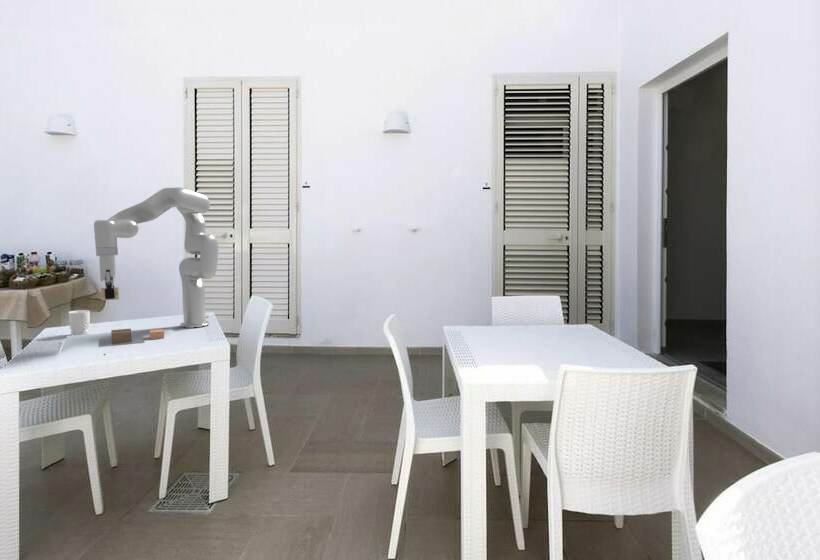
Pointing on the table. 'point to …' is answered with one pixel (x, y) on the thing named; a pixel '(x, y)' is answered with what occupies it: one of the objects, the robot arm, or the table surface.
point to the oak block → (114, 294)
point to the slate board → (108, 342)
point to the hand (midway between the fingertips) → (110, 296)
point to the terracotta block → (157, 334)
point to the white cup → (79, 322)
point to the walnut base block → (121, 335)
